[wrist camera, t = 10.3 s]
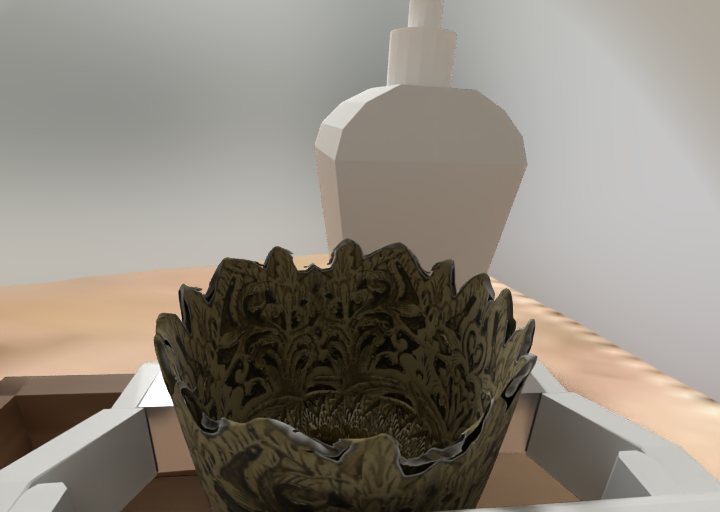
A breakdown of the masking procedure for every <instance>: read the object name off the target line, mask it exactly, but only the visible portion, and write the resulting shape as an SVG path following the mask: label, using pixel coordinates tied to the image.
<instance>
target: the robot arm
mask: <svg viewBox="0 0 720 512" xmlns="http://www.w3.org/2000/svg"><path fill="white" fill-rule="evenodd" d="M529 354H530V353H529ZM200 373H201V375H202V378H203V380H204V382H205V381H206V375H207V363H206V364H205V365H204V367H203V369H202V370H201V372H200ZM193 393H194V394H195V396H196V397H197V399H198V398H199V391H198V384H197V382H196V383H195V386H194V390H193ZM182 397H183V399H184V395H183V396H182ZM184 401H185V399H184ZM185 403H186V402H185ZM499 453H526V455H527V456H529V457H530V458H531V459H532V460H533V461H535V462H536V463H537V464H538V465H539V466H541V467H542V468H543V469H544V470H545V471H547V472H548V473H549V474H550V475H551V476H552V477H554V478H555V479H556V480H557V481H558V482H560V483H561V484H562V485H563V486H564V487H566V488H567V489H568V490H569V491H570V492H572V493H573V494H574V495H575V496H576V497H577V498H579V499H580V500H581V501H578V502H565V503H551V504H537V505H522V506H508V507H493V508H479V509H464V510H450V511H435V512H720V482H719V481H718V480H717V479H715V478H714V477H713V476H712V475H711V474H710V473H709V472H708V471H707V470H706V469H705V468H704V467H702V466H701V465H700V464H699V463H698V462H697V461H696V460H695V459H694V458H693V457H692V456H691V455H690V454H688V453H687V452H686V451H685V450H684V449H683V448H682V447H681V446H679V445H677V444H675V443H673V442H671V441H669V440H667V439H665V438H663V437H661V436H659V435H657V434H655V433H653V432H651V431H649V430H647V429H645V428H643V427H641V426H639V425H637V424H635V423H633V422H631V421H629V420H628V419H626V418H624V417H622V416H620V415H618V414H616V413H614V412H612V411H610V410H608V409H606V408H604V407H602V406H600V405H598V404H596V403H594V402H592V401H590V400H588V399H586V398H584V397H582V396H580V395H578V394H576V393H574V392H567V391H566V390H565V389H564V387H563V386H562V385H561V384H560V383H559V382H558V381H557V380H556V378H555V377H554V376H553V375H552V374H551V373H550V372H549V371H548V370H547V368H546V367H545V366H544V365H543V364H542V363H541V362H540V361H539V359H538V358H537V361H536V364H535V366H534V368H533V369H532V371H531V373H530V374H529V376H528V378H527V380H526V382H525V384H524V386H523V389H522V391H521V394H520V397H519V400H518V402H517V405H516V408H515V411H514V413H513V416H512V419H511V421H510V424H509V427H508V430H507V432H506V435H505V437H504V440H503V443H502V445H501V448H500V450H499ZM184 470H196V469H195V466H194V464H193V461H192V458H191V455H190V452H189V450H188V447H187V444H186V441H185V438H184V435H183V432H182V429H181V426H180V424H179V421H178V418H177V415H176V412H175V409H174V406H173V403H172V400H171V397H170V395H169V394H168V391H167V389H166V386H165V383H164V380H163V376H162V373H161V369H160V366H159V362H146V363H144V364H142V365H141V367H140V368H139V370H138V371H137V372H136V374H135V375H134V377H133V378H132V379H131V381H130V382H129V384H128V385H127V387H126V388H125V389H124V391H123V392H122V394H121V395H120V397H119V398H118V399H117V401H116V402H115V404H114V405H113V406H112V408H111V409H103V410H102V411H100V412H98V413H96V414H95V415H93V416H91V417H90V418H88V419H86V420H85V421H83V422H81V423H79V424H78V425H76V426H74V427H73V428H71V429H69V430H68V431H66V432H64V433H63V434H61V435H59V436H57V437H56V438H54V439H52V440H51V441H49V442H47V443H46V444H44V445H42V446H40V447H39V448H37V449H35V450H34V451H32V452H30V453H29V454H27V455H25V456H23V457H22V458H20V459H18V460H17V461H15V462H13V463H12V464H10V465H8V466H6V467H5V468H3V469H1V470H0V512H120V511H121V510H122V509H123V508H124V507H125V506H126V505H127V504H128V503H129V502H130V501H131V500H132V499H133V498H134V497H135V496H136V495H137V494H138V493H139V492H140V491H141V490H142V489H143V488H145V487H146V486H147V485H148V484H149V483H150V482H151V481H152V480H153V479H154V478H155V477H156V476H157V473H159V472H171V471H184Z"/></svg>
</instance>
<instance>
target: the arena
mask: <svg viewBox="0 0 720 512" xmlns="http://www.w3.org/2000/svg"><path fill="white" fill-rule="evenodd" d="M134 375H135V374H107V375H65V376H22V377H5V378H3V379H2V380H1V381H0V470H1V469H3V468H5V467H6V466H8V465H10V464H12V463H13V462H15V461H17V460H18V459H20V458H22V457H23V456H25V455H27V454H29V453H30V452H32V451H34V450H35V449H37V448H39V447H40V446H42V445H44V444H46V443H47V442H49V441H51V440H52V439H54V438H56V437H57V436H59V435H61V434H63V433H64V432H66V431H68V430H69V429H71V428H73V427H74V426H76V425H78V424H79V423H81V422H83V421H85V420H86V419H88V418H90V417H91V416H93V415H95V414H96V413H98V412H100V411H102V410H103V409H111V408H112V406H113V405H114V404H115V402H116V401H117V399H118V398H119V397H120V395H121V394H122V392H123V391H124V389H125V388H126V387H127V385H128V384H129V382H130V381H131V379H132V378H133V377H134ZM181 475H197V472H196V470H184V471H171V472H159V473H157V476H156V477H162V476H181ZM211 512H212V511H211Z"/></svg>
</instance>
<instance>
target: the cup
mask: <svg viewBox="0 0 720 512" xmlns="http://www.w3.org/2000/svg"><path fill="white" fill-rule="evenodd" d="M333 250H334V251H333V252H332V254H331V259H330V260H329V263H328V264H327V265H329V264H331V263H332V262H333V264H332V266H331V267H330V268H326V269H321V268H319V267H317V266H316V265H313V264H314V263H312V264H311V265H309V266H310V267H309V266H308V267H309V268H308V269H307V270H299V271H298V270H297V268H296V267H295V265H294V263H293V257H292V256H291V255H290V254H293V253H292V252H290V251H289V250H286V249H284V248H281V247H279V246H276V247H274V248H273V249H272V250H271V251H270V252H269V254H268V256H267V258H266V260H265V262H264V265H262V264H259V263H258V262H256V261H250V260H245V259H235V258H228V257H227V258H224V259H223V260H222V262H221V263H220V264H219V266H218V267H217V269H216V271H215V273H214V275H213V277H212V279H211V281H210V283H209V288H208V290H207V293H206V294H205V295H204V294H203V295H202V293H201V292H198V291H201V290H202V289H201V288H197V287H189V286H186V285H185V284H182V285H181V287H180V289H179V302H180V309H181V315H182V321H181V320H180V319H179V318H178V316H177V315H176V314H170V313H161V314H159V316H158V318H157V320H156V335H155V336H154V346H155V351H156V355H157V359H158V362H159V366H160V369H161V373H162V376H163V380H164V383H165V386H166V389H167V391H168V394H169V395H170V397H171V400H172V403H173V406H174V409H175V412H176V415H177V418H178V421H179V424H180V426H181V429H182V432H183V435H184V438H185V441H186V444H187V447H188V450H189V452H190V455H191V458H192V461H193V464H194V466H195V469H196V472H197V475H198V477H199V480H200V483H201V486H202V488H203V491H204V493H205V496H206V498H207V501H208V503H209V505H210V508H211V510H212V512H435V511H450V510H464V509H475V508H476V506H477V503H478V501H479V499H480V497H481V495H482V492H483V490H484V488H485V485H486V483H487V480H488V478H489V476H490V473H491V471H492V468H493V466H494V463H495V461H496V458H497V456H498V453H499V450H500V448H501V445H502V443H503V440H504V437H505V435H506V432H507V430H508V427H509V424H510V421H511V419H512V416H513V413H514V411H515V408H516V405H517V402H518V400H519V397H520V394H521V391H522V389H523V386H524V384H525V382H526V380H527V378H528V376H529V374H530V373H531V371H532V369H533V368H534V366H535V364H536V361H537V356H536V355H534V354H531V353H530V354H529V351H530V349H531V346H532V342H533V336H534V331H535V320H534V319H530V321H529V322H528V323H527V325H526V326H525V327H523V328H519V329H518V330H516V331H515V329H516V321H515V320H514V318H513V301H512V296H511V292H510V290H509V289H507V288H506V289H504V290H502V291H501V293H500V294H499V296H498V297H497V298H496V300H495V301H494V296H495V292H494V290H493V288H492V285H491V282H490V278H489V276H488V275H487V273H481V274H478V275H476V276H474V277H472V278H470V279H469V280H468V281H467V282H466V283H464V284H463V285H462V287H461V288H460V289H459V292H458V293H457V289H456V286H457V285H455V263H454V260H453V259H447V260H445V261H441V262H437V263H436V264H435V265H433V267H432V269H431V271H433V272H432V274H431V276H429V275H428V274H430V273H431V272H430V271H429V272H427V271H426V270H424V269H423V268H422V267H421V265H420V262H419V260H418V258H417V256H416V255H415V254H414V253H413V252H412V251H411V250H410V249H409V248H408V247H407V246H406V245H404V244H403V243H401V242H397V243H392V244H389V245H387V246H384V247H382V248H380V249H378V250H376V251H374V252H372V253H370V254H367V255H364V254H363V251H362V249H361V247H360V245H359V244H358V243H357V242H355V241H354V240H352V239H349V238H346V239H344V240H342V241H341V242H340V243H339V244H338V245H337V246H336V247H335V248H334V249H333ZM335 250H336V253H335V254H334V252H335ZM334 256H335V259H334ZM333 259H334V261H333ZM260 266H263V268H262V267H260ZM305 267H307V266H305ZM305 267H304V268H305ZM427 273H428V274H427ZM196 290H197V291H196ZM206 363H207V375H206V381H205V382H204V380H203V378H202V375H201V373H200V372H201V370H202V369H203V367H204V365H205V364H206ZM196 382H197V384H198V391H199V398H198V399H197V397H196V396H195V394H194V393H193V390H194V386H195V383H196ZM183 395H184V399H185V401H184V399H183V397H182V396H183ZM185 402H186V403H185Z"/></svg>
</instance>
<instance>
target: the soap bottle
mask: <svg viewBox="0 0 720 512" xmlns="http://www.w3.org/2000/svg"><path fill="white" fill-rule="evenodd" d="M443 1H444V0H410V6H409V18H408V27H406V28H398V29H395V30H392V31H391V33H390V46H389V61H388V75H387V86H385V87H378V88H370V89H368V90H366V91H364V92H362V93H360V94H358V95H356V96H354V97H352V98H350V99H348V100H346V101H344V102H342V103H340V105H339V106H338V107H337V108H336V109H335V110H334V111H333V112H332V113H331V114H330V115H329V116H328V117H327V118H326V119H325V120H324V121H323V122H322V123H321V126H320V129H319V132H318V135H317V139H316V142H315V145H314V148H315V155H316V162H317V170H318V176H319V184H320V191H321V198H322V206H323V213H324V220H325V227H326V234H327V242H328V250H329V257H330V259H331V254H332V252H333V251H334V250H333V249H334V248H335V247H336V246H337V245H338V244H339V243H340V242H341V241H342V240H344V239H346V238H349V239H352V240H354V241H355V242H357V243H358V244H359V245H360V247H361V249H362V251H363V254H364V255H367V254H370V253H372V252H374V251H376V250H378V249H380V248H382V247H384V246H387V245H389V244H392V243H397V242H401V243H403V244H404V245H406V246H407V247H408V248H409V249H410V250H411V251H412V252H413V253H414V254H415V255H416V256H417V258H418V260H419V262H420V265H421V267H422V268H423V269H424V270H426V271H427V272H429V271H430V272H431V273H430V274H428V273H427V274H428V275H429V276H431V274H432V272H433V271H431V269H432V267H433V265H435V264H436V263H437V262H441V261H445V260H447V259H453V260H454V263H455V285H457V286H456V289H457V293H458V292H459V289H460V288H461V287H462V285H463V284H464V283H466V282H467V281H468V280H469V279H470V278H472V277H474V276H476V275H478V274H481V273H487V272H488V269H489V267H490V264H491V261H492V258H493V256H494V253H495V251H496V248H497V245H498V243H499V240H500V237H501V234H502V232H503V229H504V226H505V223H506V221H507V218H508V216H509V213H510V210H511V207H512V205H513V202H514V199H515V197H516V194H517V191H518V189H519V186H520V183H521V181H522V178H523V175H524V172H525V170H526V167H527V160H526V154H525V148H524V142H523V137H522V135H521V134H520V132H519V131H518V129H517V128H516V126H515V125H514V123H513V122H512V120H511V119H510V117H509V116H508V115H507V113H506V112H505V110H503V109H502V108H501V107H499V106H498V105H496V104H495V103H494V102H492V101H491V100H490V99H488V98H487V97H486V96H484V95H483V94H481V93H480V92H479V91H477V90H472V89H458V88H451V80H452V72H453V65H454V57H455V49H456V40H457V34H456V32H454V31H451V30H447V29H441V19H442V11H443ZM335 253H336V250H335V252H334V254H335ZM334 259H335V256H334ZM334 259H333V261H334ZM332 264H333V262H332V263H331V266H332Z"/></svg>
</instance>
